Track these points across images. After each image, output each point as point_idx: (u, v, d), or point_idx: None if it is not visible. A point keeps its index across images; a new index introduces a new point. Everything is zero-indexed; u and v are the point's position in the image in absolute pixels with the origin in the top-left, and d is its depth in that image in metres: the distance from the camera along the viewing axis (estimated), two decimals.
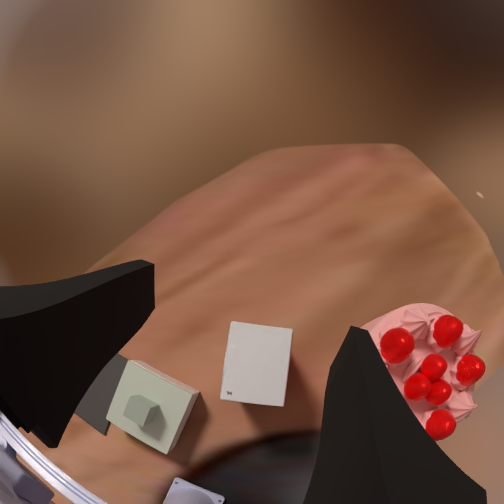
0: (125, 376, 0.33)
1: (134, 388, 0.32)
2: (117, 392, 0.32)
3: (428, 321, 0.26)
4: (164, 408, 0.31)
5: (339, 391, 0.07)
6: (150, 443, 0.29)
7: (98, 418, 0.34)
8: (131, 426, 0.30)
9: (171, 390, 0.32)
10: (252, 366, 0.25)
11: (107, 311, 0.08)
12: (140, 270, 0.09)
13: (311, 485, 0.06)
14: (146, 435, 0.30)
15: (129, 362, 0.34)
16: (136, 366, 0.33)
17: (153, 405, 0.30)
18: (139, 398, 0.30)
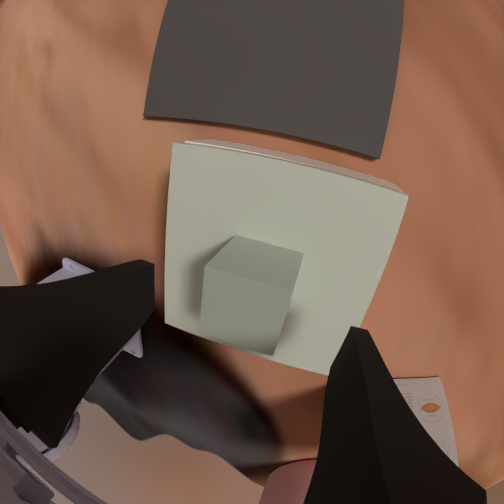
0: (350, 192, 0.10)
1: (317, 231, 0.11)
2: (281, 168, 0.11)
3: None
4: None
5: (339, 391, 0.07)
6: (170, 288, 0.14)
7: (176, 89, 0.14)
8: (189, 234, 0.13)
9: (336, 337, 0.13)
10: None
11: (107, 311, 0.08)
12: (140, 270, 0.09)
13: (311, 485, 0.06)
14: (185, 278, 0.14)
15: (402, 202, 0.10)
16: (394, 230, 0.10)
17: None
18: None
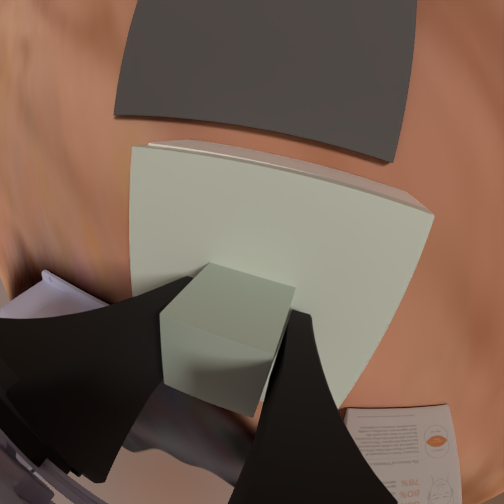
0: (359, 210, 0.08)
1: (313, 261, 0.09)
2: (265, 178, 0.08)
3: None
4: None
5: (273, 374, 0.07)
6: None
7: (148, 82, 0.11)
8: (155, 258, 0.10)
9: (335, 381, 0.10)
10: None
11: (160, 336, 0.07)
12: None
13: None
14: None
15: (426, 223, 0.07)
16: (413, 259, 0.08)
17: (267, 379, 0.09)
18: (277, 345, 0.08)
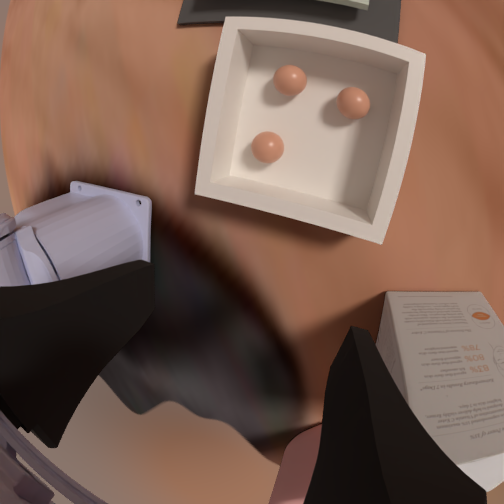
0: None
1: None
2: None
3: None
4: None
5: (339, 391, 0.07)
6: None
7: (210, 0, 0.13)
8: None
9: None
10: None
11: (107, 311, 0.08)
12: (140, 270, 0.09)
13: (311, 485, 0.06)
14: None
15: None
16: None
17: None
18: None
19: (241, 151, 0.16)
